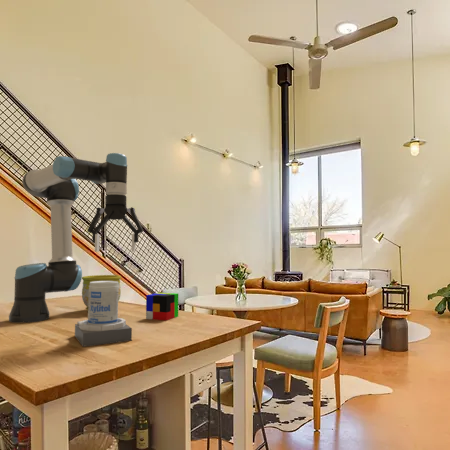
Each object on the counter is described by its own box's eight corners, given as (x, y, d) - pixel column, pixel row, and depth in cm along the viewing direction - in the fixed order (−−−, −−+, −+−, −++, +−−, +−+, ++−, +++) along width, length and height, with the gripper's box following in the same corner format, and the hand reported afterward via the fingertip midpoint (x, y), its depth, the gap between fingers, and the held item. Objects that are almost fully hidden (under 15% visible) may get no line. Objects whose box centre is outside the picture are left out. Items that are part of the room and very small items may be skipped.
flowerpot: (128, 310, 180) (128, 276, 181) (94, 315, 167) (94, 278, 168) (107, 306, 192) (108, 274, 193) (74, 311, 179) (74, 276, 180)
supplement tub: (87, 330, 119) (88, 283, 120) (87, 324, 128) (88, 281, 129) (119, 327, 122) (119, 282, 123) (117, 322, 131) (117, 280, 132)
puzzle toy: (146, 319, 159) (146, 295, 159) (158, 315, 168) (158, 292, 169) (166, 320, 155) (166, 296, 156) (178, 316, 164) (178, 293, 165)
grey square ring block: (74, 336, 128) (75, 319, 128) (118, 331, 135) (119, 315, 136) (82, 346, 114) (83, 328, 114) (131, 340, 121) (131, 323, 122)
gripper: (79, 193, 137) (77, 251, 135) (147, 193, 137) (146, 251, 135) (86, 196, 144) (85, 251, 143) (151, 196, 144) (150, 251, 143)
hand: (115, 251), depth 139 cm, fingers open, 13 cm apart
